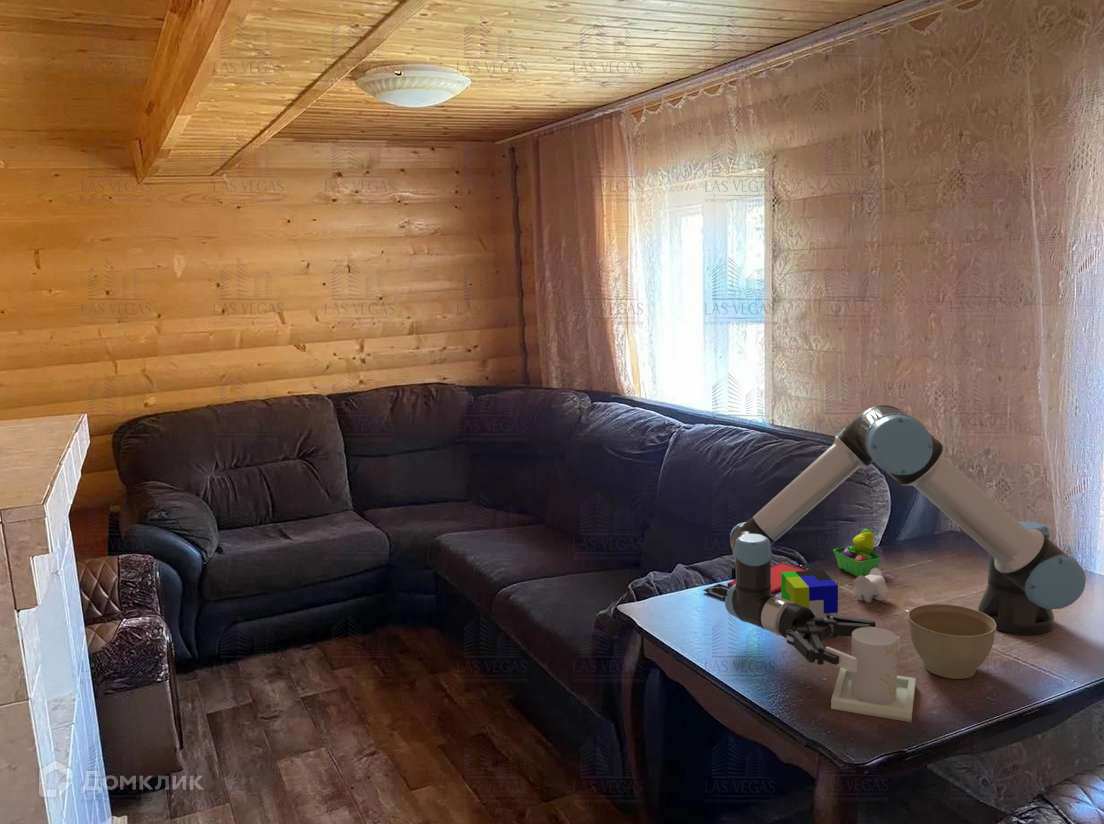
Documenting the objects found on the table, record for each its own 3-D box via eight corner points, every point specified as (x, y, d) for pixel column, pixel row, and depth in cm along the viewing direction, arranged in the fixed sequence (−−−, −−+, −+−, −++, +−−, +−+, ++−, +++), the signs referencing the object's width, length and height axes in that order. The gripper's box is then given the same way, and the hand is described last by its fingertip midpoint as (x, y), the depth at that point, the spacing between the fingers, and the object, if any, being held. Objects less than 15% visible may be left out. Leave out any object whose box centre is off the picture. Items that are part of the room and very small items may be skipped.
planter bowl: (1006, 689, 165) (1008, 637, 163) (917, 687, 168) (918, 635, 166) (980, 652, 180) (981, 603, 178) (899, 650, 183) (900, 602, 181)
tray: (915, 686, 168) (915, 678, 167) (911, 722, 155) (911, 713, 155) (840, 675, 174) (840, 667, 173) (831, 708, 161) (831, 699, 161)
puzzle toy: (837, 626, 196) (838, 585, 195) (794, 629, 196) (794, 588, 194) (822, 609, 206) (822, 569, 205) (781, 611, 206) (781, 572, 204)
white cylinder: (891, 709, 159) (893, 648, 157) (846, 699, 163) (847, 640, 161) (900, 689, 166) (901, 631, 164) (856, 680, 170) (857, 624, 168)
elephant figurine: (882, 609, 204) (882, 581, 203) (845, 599, 211) (845, 571, 210) (897, 600, 209) (898, 572, 208) (861, 590, 216) (861, 563, 215)
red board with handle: (697, 591, 221) (742, 609, 210) (697, 581, 221) (743, 598, 209) (770, 563, 239) (816, 578, 228) (770, 554, 239) (816, 568, 227)
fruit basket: (831, 566, 233) (831, 527, 231) (859, 561, 236) (859, 522, 234) (858, 580, 222) (858, 539, 220) (886, 575, 225) (887, 534, 223)
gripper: (826, 620, 187) (915, 653, 170) (748, 654, 173) (836, 694, 156) (826, 587, 186) (916, 617, 168) (747, 619, 172) (836, 655, 155)
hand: (878, 654), depth 162 cm, fingers open, 13 cm apart
